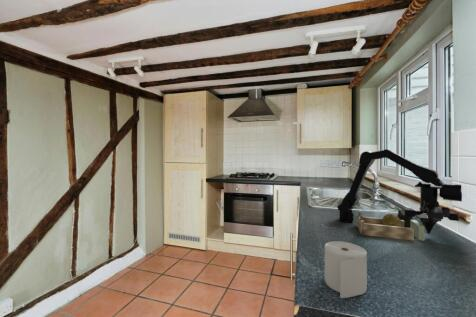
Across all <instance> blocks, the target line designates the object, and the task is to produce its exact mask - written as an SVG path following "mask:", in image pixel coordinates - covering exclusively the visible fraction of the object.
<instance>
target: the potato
mask: <svg viewBox="0 0 476 317" xmlns="http://www.w3.org/2000/svg"><path fill="white" fill-rule="evenodd" d="M382 218H383V219H382V223H383V225H387V226H397V227H403V226H402V222H401V220H400V219H399V218H398V216H397V215H396V214H394V213H387V214H386V213H385V215H384V216H383V217H382Z"/></svg>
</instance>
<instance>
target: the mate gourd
mask: <svg viewBox="0 0 476 317" xmlns="http://www.w3.org/2000/svg"><path fill="white" fill-rule="evenodd" d="M395 208H396V209H397V215H396V216H398V218H399V219H400V220H404V227H407V228H410V220H414V217H408V216H404V215H403V214H401V209H399V208H398V206H395Z"/></svg>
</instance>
